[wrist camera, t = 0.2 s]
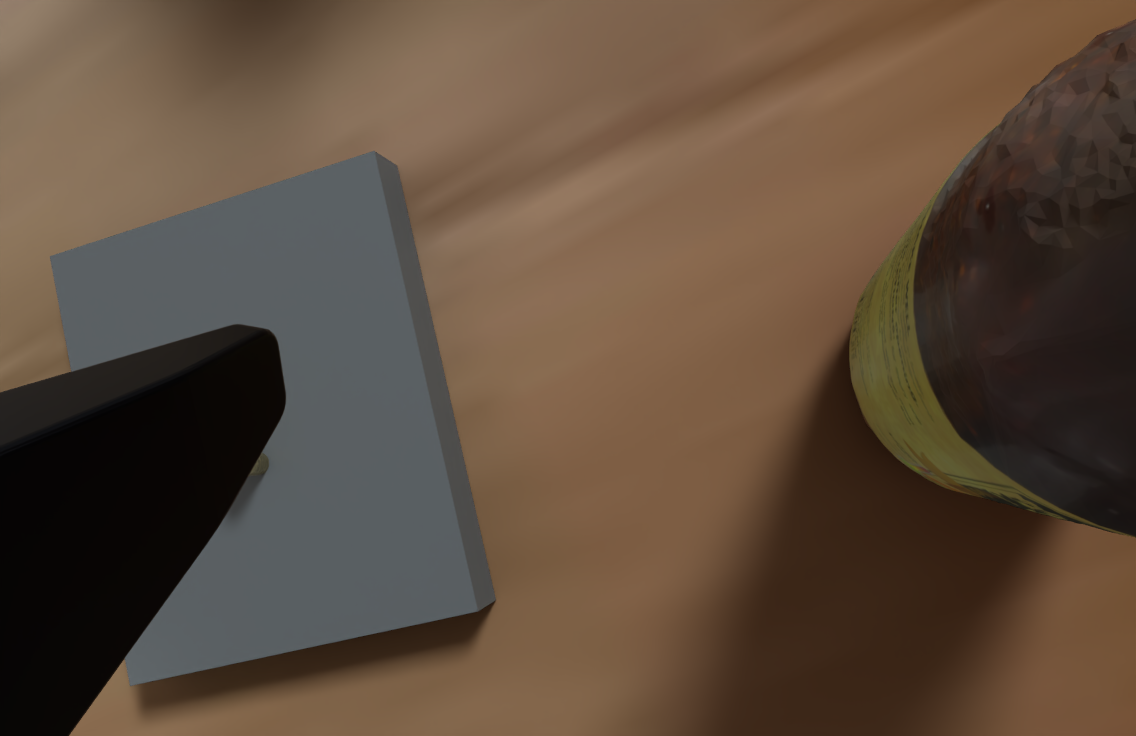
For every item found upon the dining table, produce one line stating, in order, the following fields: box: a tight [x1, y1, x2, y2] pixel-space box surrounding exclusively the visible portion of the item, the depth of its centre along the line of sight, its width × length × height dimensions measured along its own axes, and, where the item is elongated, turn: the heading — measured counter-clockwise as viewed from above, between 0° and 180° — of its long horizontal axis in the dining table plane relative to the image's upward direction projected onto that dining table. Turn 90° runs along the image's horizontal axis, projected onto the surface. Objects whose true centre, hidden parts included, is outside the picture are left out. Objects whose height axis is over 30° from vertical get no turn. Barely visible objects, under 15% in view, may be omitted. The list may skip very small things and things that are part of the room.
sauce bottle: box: [849, 19, 1136, 538], centre depth 13 cm, size 7×6×20 cm
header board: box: [50, 151, 496, 686], centre depth 25 cm, size 12×10×3 cm
